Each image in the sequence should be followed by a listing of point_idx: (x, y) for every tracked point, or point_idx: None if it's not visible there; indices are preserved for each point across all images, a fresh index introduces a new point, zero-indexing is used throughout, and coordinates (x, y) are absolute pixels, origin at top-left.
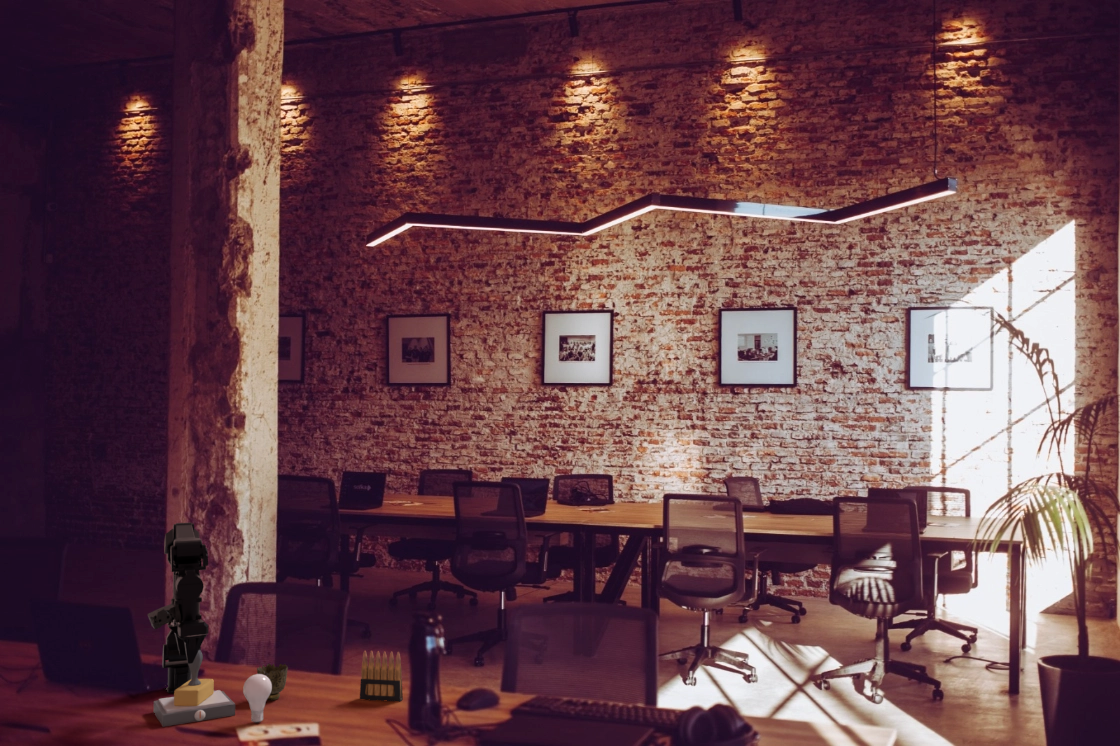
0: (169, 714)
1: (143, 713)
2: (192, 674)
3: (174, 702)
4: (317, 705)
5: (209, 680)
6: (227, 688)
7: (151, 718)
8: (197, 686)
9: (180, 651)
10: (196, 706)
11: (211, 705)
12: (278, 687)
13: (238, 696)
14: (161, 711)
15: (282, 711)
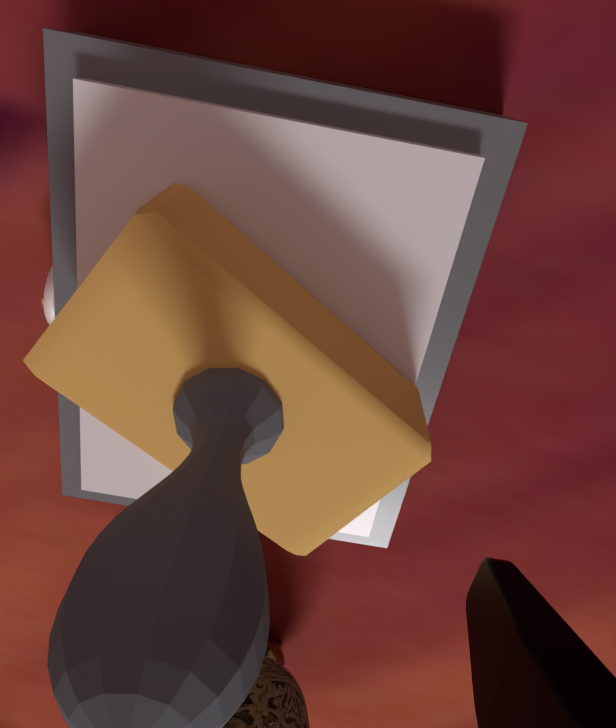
0: (45, 85)
1: (537, 37)
2: (194, 451)
3: (174, 188)
4: (44, 701)
5: (263, 527)
6: (599, 600)
7: (357, 41)
8: (133, 405)
9: (501, 610)
10: None
11: None
12: None
13: (412, 580)
14: (164, 59)
15: (32, 603)
